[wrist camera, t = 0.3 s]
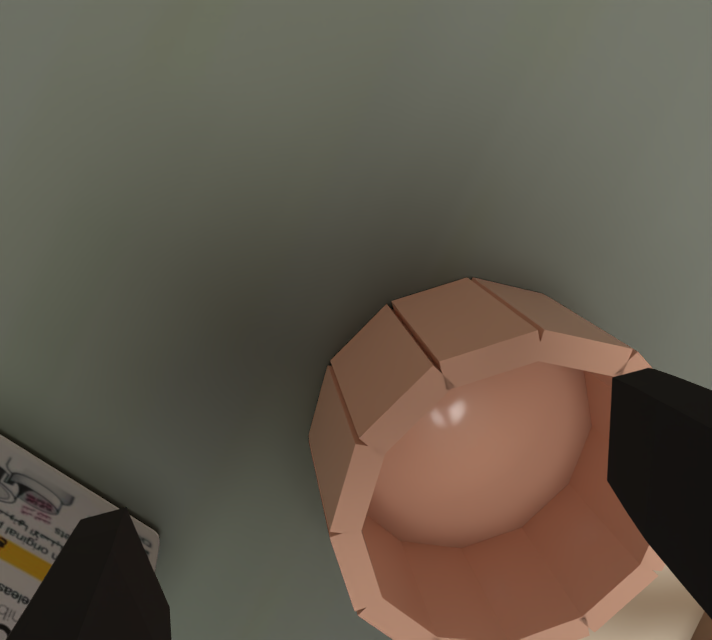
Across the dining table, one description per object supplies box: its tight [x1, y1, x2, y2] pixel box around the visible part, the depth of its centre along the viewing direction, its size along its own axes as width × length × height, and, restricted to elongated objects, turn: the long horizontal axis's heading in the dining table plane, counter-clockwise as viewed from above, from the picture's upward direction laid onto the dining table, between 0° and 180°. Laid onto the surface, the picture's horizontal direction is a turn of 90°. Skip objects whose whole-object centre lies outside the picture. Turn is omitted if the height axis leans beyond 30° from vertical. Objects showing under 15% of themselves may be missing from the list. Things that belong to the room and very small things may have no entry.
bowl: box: [308, 277, 665, 640], centre depth 19 cm, size 10×10×5 cm
